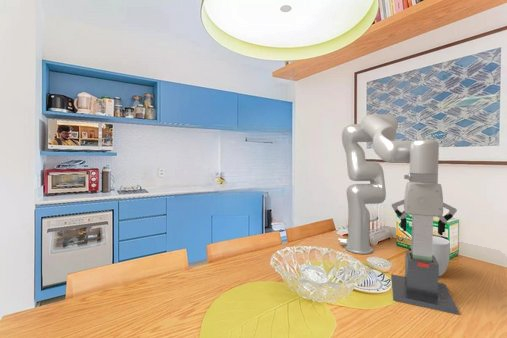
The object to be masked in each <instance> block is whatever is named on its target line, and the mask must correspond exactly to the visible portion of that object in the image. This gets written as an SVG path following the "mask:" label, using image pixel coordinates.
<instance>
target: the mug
mask: <svg viewBox="0 0 507 338" xmlns="http://www.w3.org/2000/svg"><path fill="white" fill-rule="evenodd" d="M432 255H434V257H435V259H436V260H437V262H438V264H439V276H438V278H439V277H442V276H443V275H444V274H445V273H446V271H447V269H448V266H449V264H450V263H449V262H450V256H451V242H450V240H448V239H446V238H443V237H439V236H434V235H433V242H432Z"/></svg>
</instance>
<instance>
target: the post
mask: <svg viewBox="0 0 507 338" xmlns="http://www.w3.org/2000/svg"><path fill="white" fill-rule="evenodd" d="M433 229H434V216H424V215H411V245H410V246H411V247H410V252H411V259H413V260H419V261H426V262H432V242H433V236H434V235H433V234H434V233H433V231H434V230H433Z"/></svg>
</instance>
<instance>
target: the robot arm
mask: <svg viewBox="0 0 507 338" xmlns="http://www.w3.org/2000/svg"><path fill="white" fill-rule="evenodd" d="M398 126H399V123H398V119H397V118H396V117H395V116H394V115H392V114H389V113H388V114H387V113H386V114H383V113H382V114H379V113H372V114H368V115H366V116H364V117H363V118H361V121H360V123H355V124H353V123H352V124H348V125H346V126H345V127H344V128H343V130H342V134H341V142H342V146H343V149H344V151H345V157H346V166H347V168H346V169H347V175H348V178H349V179H350V180H351V181H353V182H370V183H354V184H350V185H349V186H348V187H347V188H346V199H347V207H348V209H347V213H348V220H347V221H348V225H347V226H348V227H347V232H348V233H347V238H340V237H339V238H338V243H340V244H343V245H344V249H345V250H346V251H347V252H350V253H354V254H358V255H368V254H371V253H374V249H373V247H372V246H370V241H371V240H370V236H371V235H370V233H371V232H370V231H371V226H370V225H371V223H370V222H371V214H370V211H369V209H368V208H367V206H366V205H368V204H370V205H373V204H376V205H377V204H382V203H384V201H386V197H387V192H386V183H385V182H386V181H385V172H384V169H383V166H382V165H381V163H379V162H377V161H367V160H366V154H365V153H366V152H365V151H364V148H363V147H362V146H361V145H360V144H359V143H372V149H373V152H374V153H375V154H376V156H378V157H379V158H380V159H381V160H382V161H383V162H386V163H392V164H393V163H398V164H399V163H405V164H407V163H409V173H408V174H404V176H403V177H404V178H403V179H404V180H408V182H406V184H405V189H404V190H405V191H404V198H403V199H402V200H399V201H397V202H394V203H391V207H392V208H393V211H394V213H395V214H396V215H397V216H398V217H399V218H400V228H401V229H403V232H407V216H409V215H411V216H412V215H424V216H433V217H436V218H438V219H439V220H438V221H437V233H438V235H439V236H443V234H444V233H445V232H446V223H448V221H450V220H451V219H452V218H453V217H454V215H455V214H456V213H457V210H458V209H457V208H455V207H453V206H452V205H449V204H447V203H446V202H444V196H443V187H442V184H441V183H439V182H438V181H439V157H440V156H439V154H440V153H439V152H440V151H439V148H440V144H439V142H438V140H435V139H416V140H394V139H396V137H397V129H398ZM400 206H403V209H404V210H403V211H400V210H399V209H398V207H400ZM444 209H447V210H448V213H446V214H445V215H444Z"/></svg>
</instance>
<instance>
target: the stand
mask: <svg viewBox="0 0 507 338" xmlns="http://www.w3.org/2000/svg"><path fill="white" fill-rule="evenodd" d="M404 256H405V257H404V258H405V260H404V261H405V262H404V264H405V266H404V268H405V269H404V276H403V275H399V274H390V275H391V277H390V279H391V280H390V281H392V282H391V291H392V292H391V294H392V301H395V302H400V303H403V304H408V305H414V306H417V307H422V308H427V309H430V310H436V311H440V312H445V313H449V314H452V315H453V314H454V315H458V314H459V308H458V306H457V305H456V302H455V300H454V298H453V297H452V295H451V293H450V291H449V289H448V287H447V285H446V284H445V283H442V282H439V277H440V276H439V264H438V262H437V260H436V259H435V257H434V255H432V262H426V261H419V260H413V259H411V251H405V255H404ZM438 276H439V277H438Z"/></svg>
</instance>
